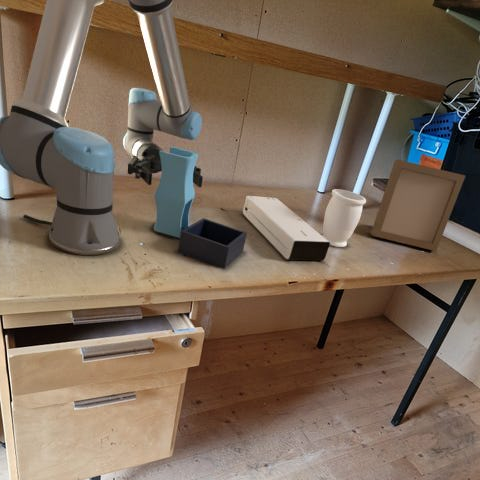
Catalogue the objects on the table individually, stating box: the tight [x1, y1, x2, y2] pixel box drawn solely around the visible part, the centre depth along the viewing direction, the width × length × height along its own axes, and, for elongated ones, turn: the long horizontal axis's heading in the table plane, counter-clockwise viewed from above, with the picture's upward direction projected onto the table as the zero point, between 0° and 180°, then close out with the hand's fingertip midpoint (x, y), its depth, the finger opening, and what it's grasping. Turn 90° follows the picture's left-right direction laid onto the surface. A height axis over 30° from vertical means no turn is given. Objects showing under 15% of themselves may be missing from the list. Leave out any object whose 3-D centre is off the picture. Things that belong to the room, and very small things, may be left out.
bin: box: [177, 217, 248, 269], centre depth 104 cm, size 13×13×6 cm
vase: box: [153, 146, 199, 239], centre depth 106 cm, size 8×8×20 cm
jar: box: [321, 188, 367, 248], centre depth 125 cm, size 11×10×15 cm
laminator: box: [242, 195, 331, 262], centre depth 122 cm, size 34×12×6 cm, turn 22°
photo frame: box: [370, 159, 466, 252], centre depth 139 cm, size 15×22×25 cm
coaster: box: [154, 228, 185, 239], centre depth 111 cm, size 9×9×1 cm
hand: (176, 180), depth 104 cm, fingers open, 13 cm apart
